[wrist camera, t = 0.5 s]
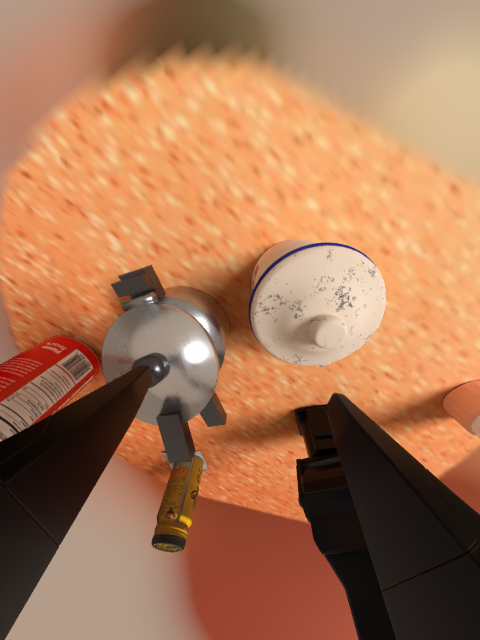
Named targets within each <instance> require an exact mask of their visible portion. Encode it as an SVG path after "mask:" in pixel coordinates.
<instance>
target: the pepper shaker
mask: <svg viewBox="0 0 480 640" xmlns="http://www.w3.org/2000/svg"><path fill="white" fill-rule="evenodd" d="M442 405H443V408H444V409H445V410H446V411H447V412H448V413H449V414H450V415H451V416H452V417H453V418H454V419H455V420H456V421H457V422H458V423H459V424H460V425H461V426H463V427H464V428H465V429H466V430H467V431H468V432H470V433H471V434H473V435H476V436H478V437H479V438H480V380H477V381H471V382H468V383H466V384H463V385H461V386H459V387H457V388H455V389H453V390H452V391H451V392H450V393H448V394H447V396H446V397H445V398H444V400H443V404H442Z"/></svg>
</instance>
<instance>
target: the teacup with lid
mask: <svg viewBox="0 0 480 640" xmlns="http://www.w3.org/2000/svg"><path fill="white" fill-rule="evenodd" d="M385 305H386V290H385V284H384V281H383V278H382V276H381V274H380V272H379V270H378V269H377V267H376V266H375V264H374V263H373V262H372V261H371V260H370V259H369V258H368V257H367V256H366V255H365V254H363V253H362V252H360V251H359V250H357V249H355V248H352V247H350V246H347V245H343V244H338V243H316V242H311V241H307V240H303V239H290V240H286V241H282V242H280V243H278V244H276V245H274V246H272V247H271V248H269V249H268V250H267V251H266V252H265V253H264V254H263V255H262V256H261V257H260V259H259V260H258V262H257V264H256V266H255V268H254V271H253V275H252V295H251V299H250V304H249V320H250V325H251V329H252V331H253V333H254V335H255V337H256V339H257V340H258V342H259V343H260V344H261V345H262V347H263V348H264V349H265V350H266V351H267V352H269V353H270V354H271V355H273V356H274V357H276V358H278V359H280V360H282V361H285V362H287V363H291V364H295V365H302V366H315V365H319V366H321V367H324V366H328V365H330V364H331V362H334V361H337V360H339V359H342V358H344V357H346V356H348V355H350V354H351V353H353V352H354V351H356V350H357V349H358V348H360V347H361V346H362V345H363V344H364V343H365V342H366V341H367V340H368V339H369V338H370V337H371V336H372V334H373V333H374V332H375V330H376V329H377V327H378V325H379V323H380V322H381V319H382V317H383V314H384V310H385Z"/></svg>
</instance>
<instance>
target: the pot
mask: <svg viewBox="0 0 480 640" xmlns="http://www.w3.org/2000/svg"><path fill="white" fill-rule="evenodd" d="M119 278H120V280H121V281H118V282H116V283H113V284H111V286H112V287H113V289H114V290H115V292H116V294H117V295H118V297H122V296H125V295H128V294H129V295H130V296H131V298H133V297H137V296H140V295H143V294H147V293H150V292H155V293H156V294H157V295H158V299H159V300H158V302H157V303H154V304H166V305H171V306H175V307H177V308H180V309H182V310H184V311H186V312H188V313H189V314H191V315H192V316H193V317H195V318H196V319H197V320H198V321H199V322H200V323H201V324H202V325H203V326H204V328H205V329H206V330H207V332H208V333H209V335H210V336H211V338H212V340H213V342H214V345H215V348H216V351H217V355H218V360H219V370H220V368H221V367H222V364H223V360H224V355H225V350H226V346H227V341H228V336H229V323H228V319H227V316H226V314H225V312H224V310H223V309H222V307H221V306H220V305H219V304H218V302H216V301H215V300H214V299H213V298H212V297H211V296H209V295H208V294H206V293H204V292H202V291H200V290H198V289H195V288H191V287H184V286H177V287H170V288H167V289H163V287H162V285H161V283H160V281H159V279H158V277H157V275H156V273H155V271H154V269H153V267H152V265H150V266H147V267H144V268H141V269H138V270H135V271H132V272H129V273H126V274H123V275H121V276H119ZM200 414H201V416H202V418H203V419H204V421H205V423H206V424H207V426H208V427H211V426H218V425H226V417H227V415H226V413H225V411H224V409H223V407H222V405H221V403H220V401H219V399H218V397H217V395H216V393H215V391H214V393H213V395H212V397H211V399H210V400H209V402H208V403H207V405H206V406H205V407H204V409H203V410H202V411H201V412H200Z"/></svg>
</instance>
